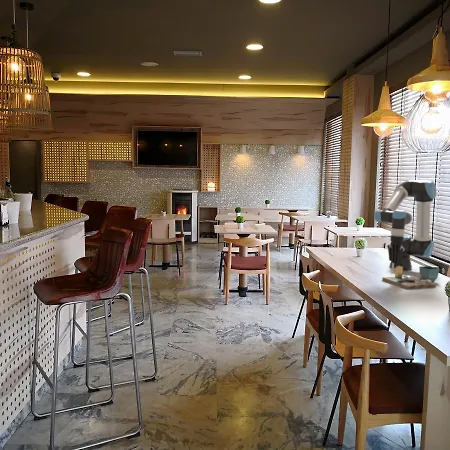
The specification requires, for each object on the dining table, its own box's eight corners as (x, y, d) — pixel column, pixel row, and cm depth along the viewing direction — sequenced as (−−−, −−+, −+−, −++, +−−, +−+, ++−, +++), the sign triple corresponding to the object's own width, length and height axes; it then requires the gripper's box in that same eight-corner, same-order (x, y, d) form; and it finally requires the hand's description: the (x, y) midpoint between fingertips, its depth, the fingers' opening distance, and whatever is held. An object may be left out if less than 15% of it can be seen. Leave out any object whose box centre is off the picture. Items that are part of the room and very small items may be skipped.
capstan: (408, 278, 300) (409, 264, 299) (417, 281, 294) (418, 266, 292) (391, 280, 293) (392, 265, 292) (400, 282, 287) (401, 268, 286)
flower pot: (417, 279, 308) (418, 266, 307) (428, 279, 311) (429, 265, 310) (427, 283, 300) (429, 269, 299) (438, 282, 303) (439, 268, 302)
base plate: (409, 278, 310) (409, 273, 309) (435, 287, 289) (436, 281, 289) (382, 280, 301) (382, 275, 301) (407, 289, 281) (408, 283, 281)
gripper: (409, 236, 287) (406, 275, 290) (394, 233, 299) (390, 270, 302) (400, 237, 284) (396, 275, 287) (385, 233, 295) (381, 271, 298)
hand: (393, 272), depth 294 cm, fingers closed
